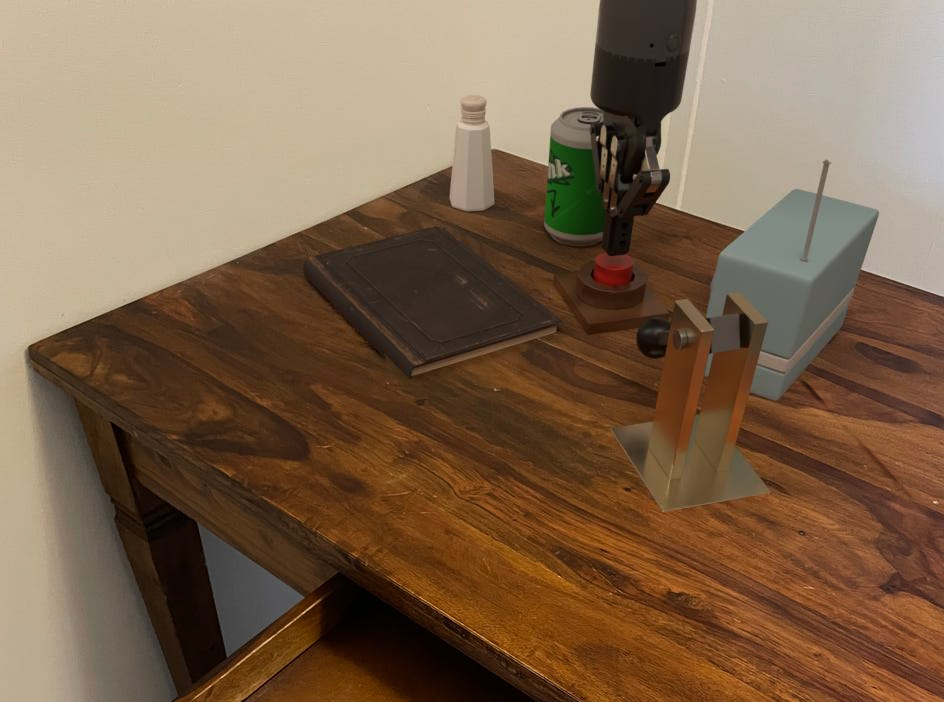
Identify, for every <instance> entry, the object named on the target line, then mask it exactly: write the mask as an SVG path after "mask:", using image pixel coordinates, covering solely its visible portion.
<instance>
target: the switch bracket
mask: <svg viewBox="0 0 944 702" xmlns="http://www.w3.org/2000/svg"><path fill="white" fill-rule="evenodd" d="M731 314H739V329H740V350H734V351H727V352H720V353H713V358H712V362H711V366H710V371H709V375H708V377H707V379H706V385H705V389H704V394H703V397H702V402H701V406H700V411H699V413H698V414H697V410H698V405H699V401H700V397H701V393H702V387H703V382H704V378H705V376H704V374H705V370H706V365H707V361H708V356H709V352H710V347H711V343H712V338H713V334H714V328H713V327H712V326H711V325H710V324H709V323H708V321H707V320H706V319H705V318H706V317H704V315H703V314H702V313H701V312H700V311H699V310H698V309H697V307H695V305H694V304H693V303H692V302H691V301H690V299H688V298H683V299H675V301H674V306H673V312H672V316H671V321H670V322H671V327H670V333H669V338H668V343H667V349H666V354H665V357H664V360H663V364H662V365H663V366H662V370H661V377H660V382H659V386H658V387H659V388H658V392H657V397H656V402H655V403H656V404H655V408H654V414H653V419H652V421H647V422H641V423H634V424H633V423H632V424H628V425H627V424H626V425H622V426H614V427H610V428H609V431H610V432H611V434H612V436H613V437H614V439H615V441H616V442H617V444H618V446H619V447H620V449H621V450H622V452H623V453H624V455H625V457H626V458H627V459H628V461H629V462H630V464H631V466H633V469H634V470H635V472H636V473H637V475H638V476H639V478H640V480H641V482H642V484H644V486H645V488H646V489H647V490H648V492H649V494H650V495H651V497H652V498H653V500H654V502H655V503H656V505H657V506H658V508H659V509H660V511H661V512H662V513H668V512H669V513H670V512H675V511H681V510H687V509H691V508H698V507H704V506H708V505H709V506H710V505H714V504H720V503H726V502H731V501H736V500H742V499H743V500H744V499H749V498H754V497H760V496H767V495H771V494H772V491H771V489H769V487H768V486H767V484H765V482H764V481H763V479H762V478H761V476H759V474H758V473H757V472H756V470H755V469H754V468H753V466H752V465H751V464H750V462H749V461H748V459H746V457H745V456H744V455H743V453H741V451H740V450H739V449H738V447H737V446H736V445H737V440H738V438H739V437H738V436H739V433H740V430H741V426H742V422H743V418H744V414H745V411H746V408H747V407H746V406H747V403H748V399H749V396H750V393H751V392H750V389H751V385H752V381H753V377H754V374H755V370H756V366H757V362H758V359H759V355H760V351H761V348H762V344H763V340H764V336H765V333H766V329H767V325H768V321H767V320H766V319H765V318H764V317H763V316H762V315H761V314H760V313H759V312H758V311H757V310H756V308H755V307H754V306H753V305H752V304H751V303H750V302H749V301H748V300H747V299H746V298H745V297H744V296H743V295H742V294H741V293H740V292H733V293H727V296H726V300H725V305H724V309H723V314H722V315H731Z"/></svg>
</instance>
